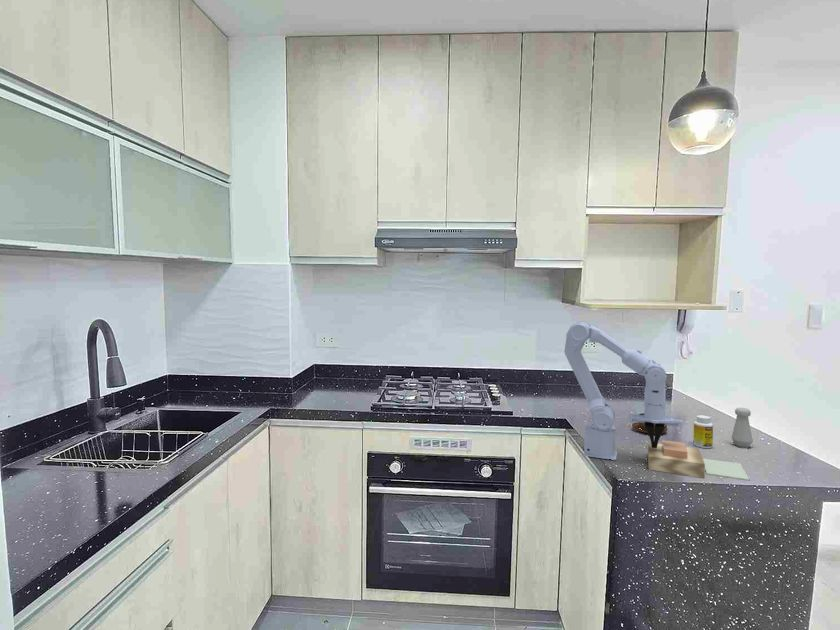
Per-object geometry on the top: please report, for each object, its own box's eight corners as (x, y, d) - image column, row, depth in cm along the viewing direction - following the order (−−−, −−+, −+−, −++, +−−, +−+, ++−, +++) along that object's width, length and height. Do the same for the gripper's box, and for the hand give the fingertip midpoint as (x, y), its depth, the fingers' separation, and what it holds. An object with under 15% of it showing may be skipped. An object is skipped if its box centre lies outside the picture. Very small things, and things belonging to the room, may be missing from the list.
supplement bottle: (705, 449, 146) (706, 419, 146) (689, 444, 151) (690, 415, 151) (716, 447, 148) (717, 417, 148) (700, 442, 154) (700, 413, 153)
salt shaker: (748, 450, 146) (749, 411, 145) (728, 445, 150) (729, 408, 150) (755, 446, 149) (756, 408, 149) (735, 442, 154) (736, 405, 153)
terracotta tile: (663, 455, 130) (663, 449, 130) (662, 446, 138) (662, 440, 138) (687, 458, 127) (687, 452, 127) (684, 449, 135) (684, 442, 135)
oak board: (648, 469, 130) (648, 456, 130) (647, 454, 142) (648, 442, 142) (704, 478, 124) (704, 464, 123) (698, 461, 136) (698, 448, 136)
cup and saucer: (667, 429, 169) (668, 414, 169) (667, 438, 159) (667, 421, 158) (633, 425, 175) (633, 410, 175) (630, 433, 165) (630, 417, 164)
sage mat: (706, 474, 126) (706, 473, 126) (701, 459, 138) (701, 458, 138) (749, 480, 122) (749, 479, 122) (740, 464, 133) (740, 463, 133)
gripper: (628, 403, 134) (627, 447, 135) (683, 409, 128) (682, 454, 128) (629, 399, 141) (628, 440, 141) (681, 403, 134) (680, 447, 135)
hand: (654, 447), depth 135 cm, fingers closed
